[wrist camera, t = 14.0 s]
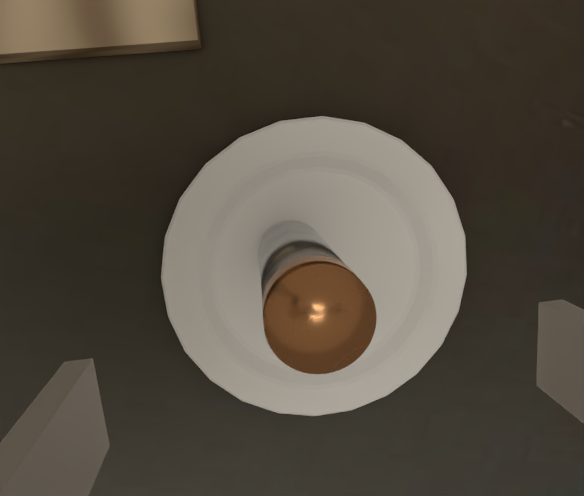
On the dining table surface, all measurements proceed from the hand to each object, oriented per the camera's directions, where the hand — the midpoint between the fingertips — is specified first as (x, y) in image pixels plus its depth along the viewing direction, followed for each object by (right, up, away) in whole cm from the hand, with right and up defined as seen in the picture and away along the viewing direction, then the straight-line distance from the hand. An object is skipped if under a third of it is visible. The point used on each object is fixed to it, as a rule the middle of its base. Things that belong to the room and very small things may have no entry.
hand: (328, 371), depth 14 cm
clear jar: (-1, +3, +18) cm, 18 cm away
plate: (+1, +2, +20) cm, 20 cm away
